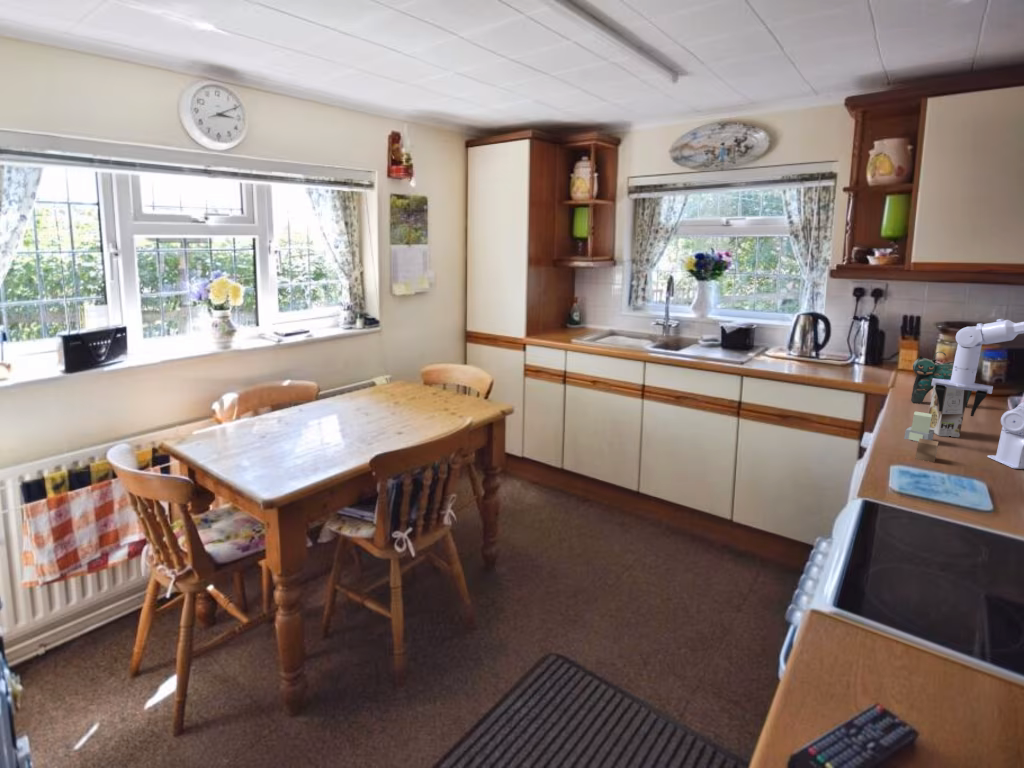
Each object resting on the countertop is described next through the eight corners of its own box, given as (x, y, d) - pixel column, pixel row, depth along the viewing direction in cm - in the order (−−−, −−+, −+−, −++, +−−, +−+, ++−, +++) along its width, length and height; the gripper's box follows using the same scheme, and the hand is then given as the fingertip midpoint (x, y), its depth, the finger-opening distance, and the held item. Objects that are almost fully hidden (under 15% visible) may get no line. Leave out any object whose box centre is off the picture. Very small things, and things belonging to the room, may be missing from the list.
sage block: (928, 429, 195) (931, 413, 194) (928, 433, 191) (931, 417, 190) (911, 426, 197) (914, 411, 196) (911, 430, 194) (913, 414, 193)
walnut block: (935, 458, 179) (938, 441, 178) (934, 462, 176) (937, 445, 174) (916, 455, 182) (919, 438, 181) (915, 459, 178) (918, 442, 177)
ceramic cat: (909, 403, 239) (918, 351, 234) (904, 399, 245) (913, 348, 240) (970, 408, 233) (981, 355, 229) (964, 404, 239) (974, 352, 235)
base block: (932, 441, 195) (934, 430, 195) (925, 445, 191) (928, 434, 191) (910, 436, 200) (912, 425, 199) (903, 440, 196) (905, 429, 195)
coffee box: (960, 437, 198) (970, 387, 195) (937, 436, 200) (946, 386, 196) (947, 429, 207) (956, 381, 203) (925, 427, 208) (934, 379, 205)
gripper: (934, 366, 185) (925, 411, 188) (996, 373, 177) (986, 420, 180) (936, 362, 190) (928, 406, 194) (996, 369, 182) (986, 415, 185)
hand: (956, 413), depth 187 cm, fingers open, 7 cm apart
